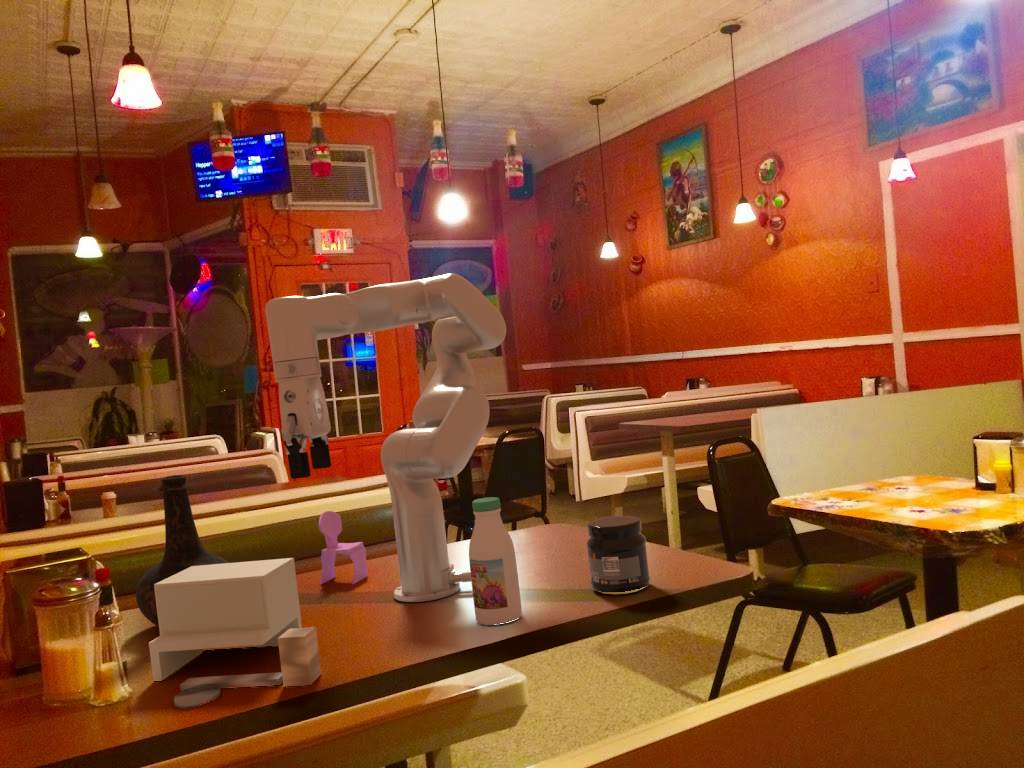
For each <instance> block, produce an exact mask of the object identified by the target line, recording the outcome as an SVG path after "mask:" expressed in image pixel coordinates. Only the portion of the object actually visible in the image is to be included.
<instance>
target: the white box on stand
mask: <svg viewBox="0 0 1024 768" xmlns="http://www.w3.org/2000/svg"><path fill="white" fill-rule="evenodd" d="M154 589H155V598H156V606H157V614H158V622H159V627H158V629H159V636H158V637H156V638H154V639H153V640H151V641H149V642H148V648H149V655H150V665H151V674H152V681H162V680H164V679H165V678H166V677H168V676H169V675H171V674H172V673H173V672H175V671H176V670H178V669H179V668H180V667H182V666H183V665H184V664H186V663H187V662H188V661H190V660H192V659H193V658H195V657H196V656H197V655H198V654H200V653H201V652H202V651H204V650H205V649H211V648H212V649H213V648H228V647H229V648H230V647H257V648H267V647H266V646H272V647H279V645H278V638H279V637H280V636H281V635H282V634H284V633H285V632H286V631H287V630H289V629H292V628H303V625H302V615H301V608H300V600H299V590H298V582H297V573H296V565H295V558H294V557H286V558H275V559H263V560H261V559H260V560H251V561H249V560H248V561H239V562H229V563H224V564H212V565H200V566H191V567H189V568H187V569H185V570H183V571H181V572H179V573H177V574H175V575H173V576H171V577H168V578H166V579H164V580H162V581H160V582H158V583H156V584H154ZM195 659H196V658H195ZM192 661H193V660H192ZM182 668H183V667H182ZM179 670H180V669H179ZM179 670H178V671H179ZM175 673H176V672H175ZM172 675H173V674H172ZM172 675H171V676H172ZM169 677H170V676H169ZM169 677H168V678H169ZM165 680H166V679H165ZM165 680H164V681H165ZM162 682H163V681H162Z"/></svg>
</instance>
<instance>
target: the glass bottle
mask: <svg viewBox="0 0 1024 768" xmlns="http://www.w3.org/2000/svg"><path fill="white" fill-rule="evenodd" d="M160 483H161V486H160V487H158V488H157V491H158V492H162V497H163V498H162V499H163V510H164V513H163V514H164V527H165V531H164V532H165V534H164V535H165V539H164V540H165V541H164V542H165V546H164V555H163V558H162V559H161V561H160V562H159V563H157V564H156V565H154V566H152V567H151V568H149V569H147V571H146V572H145V573H143V575H142V576H141V578H140V579H139V581H138V583H137V586H136V592H135V600H136V603H137V604H136V605H137V607H138V609H139V612H141V614H142V615H143V617H145V618H146V619H147V620H148V621H149V622H150V623H151V624H153V625H155V626H156V627H158V628H159V622H158V614H157V606H156V598H155V589H154V584H156V583H158V582H160V581H162V580H164V579H166V578H168V577H171V576H173V575H175V574H177V573H179V572H181V571H183V570H185V569H187V568H189V567H191V566H200V565H212V564H224V563H230V562H229V561H228V560H226V559H225V558H223V557H221V556H218V555H217V554H212V553H210V552H208V551H207V549H206V548H205V546H204V545H203V542H202V541H201V539H200V535H199V533H198V531H197V526H196V523H195V519H194V516H193V511H192V510H193V509H192V506H191V502H190V496H189V495H190V494H189V491H188V487H189V485H188V484H187V476H186V475H184V474H183V475H182V474H177V475H170V476H164V477H162V478H160Z"/></svg>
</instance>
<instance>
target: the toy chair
mask: <svg viewBox="0 0 1024 768" xmlns="http://www.w3.org/2000/svg"><path fill="white" fill-rule="evenodd" d="M318 520H319V521H318V529H319V531H320V533H321V534H322V535H324V540H325V543H326V548H324V549H322V550H321V555H320V562H321V575H320V579H319V582H318V586H321V585H324V584H325V583H327V582H329V581H331V580H333V579H335V578H336V577H337V576H336V570H335V569H336V567H335V564H336V563H335V562H336V557H337V555H338V554H339V555H347V556H349V557H350V558H349V559H350V560H351V561H352V564H353V568H354V571H353V572H354V573H353V578H352V582H351V585H354V584H356V583H358V582H360V581H362V580H363V579H365V578H367V577H368V576H369V575H368V567H367V549H366V547H365V546H364V541H358V542H348V543H347V542H338V536H339V534H341V532H342V531H343V525H342V518H341V516H340V514H338V512H336V511H332V510H328V511H324V512H322V513H320V516H319V519H318Z"/></svg>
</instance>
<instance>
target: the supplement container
mask: <svg viewBox="0 0 1024 768" xmlns="http://www.w3.org/2000/svg"><path fill="white" fill-rule="evenodd" d="M586 528H587V529H586V530H587V535H588V536H589V538H588V539H587V541H586V544H585V545H586V546H585V547H586V550H587V556H588V566H589V567H588V568H589V574H590V575H589V577H590V585H591V588H592V589H593V590H594V591H595V590H597V591H601V592H625V591H631V590H635V589H640V588H642V587H645V586H647V585H648V584H649V585H650V582H651V579H650V572H649V564H648V555H647V554H648V553H647V545H646V543H647V539H646V538H647V537H646V536H645V535H644V534H643V533H642V532H641V531H642V528H643V527H642V520H641V518H639V517H637V516H631V515H616V516H615V515H614V516H605V517H601V518H597V519H593V520H590V521H589V522H588V523H587V525H586ZM649 585H648V586H649ZM648 586H647V587H648Z"/></svg>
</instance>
